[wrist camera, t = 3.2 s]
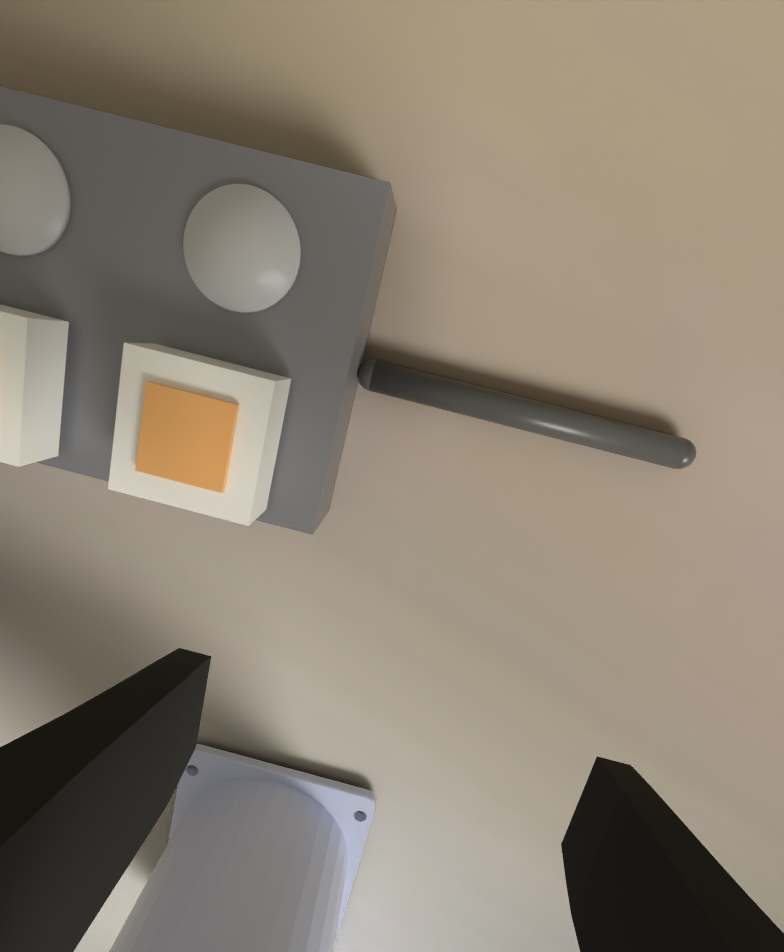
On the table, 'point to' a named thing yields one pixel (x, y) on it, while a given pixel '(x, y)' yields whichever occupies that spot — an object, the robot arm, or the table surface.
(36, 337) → the button
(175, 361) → the button
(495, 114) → the table surface
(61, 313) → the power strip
